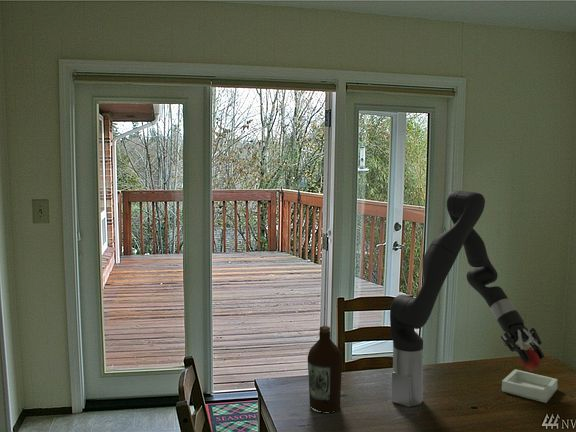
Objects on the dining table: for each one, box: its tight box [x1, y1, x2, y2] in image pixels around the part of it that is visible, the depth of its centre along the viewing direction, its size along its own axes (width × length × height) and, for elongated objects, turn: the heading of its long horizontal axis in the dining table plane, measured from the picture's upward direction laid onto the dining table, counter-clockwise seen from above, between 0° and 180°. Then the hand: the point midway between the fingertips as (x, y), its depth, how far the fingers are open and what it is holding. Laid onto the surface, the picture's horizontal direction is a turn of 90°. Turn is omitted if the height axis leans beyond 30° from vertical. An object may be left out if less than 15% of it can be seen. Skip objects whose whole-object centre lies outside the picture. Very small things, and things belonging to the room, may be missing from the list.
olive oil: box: [307, 325, 343, 413], centre depth 151 cm, size 11×11×25 cm
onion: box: [520, 346, 541, 372], centre depth 162 cm, size 6×6×8 cm
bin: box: [501, 368, 558, 404], centre depth 163 cm, size 13×13×4 cm
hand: (534, 359), depth 160 cm, fingers closed on onion, 5 cm apart
